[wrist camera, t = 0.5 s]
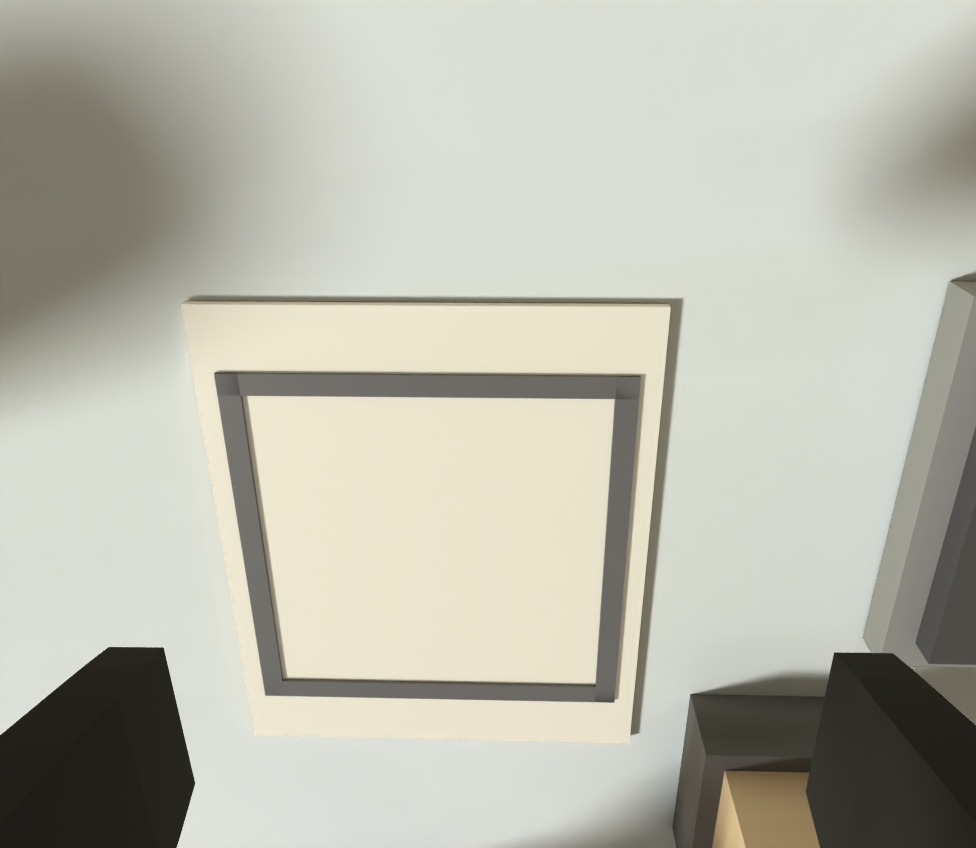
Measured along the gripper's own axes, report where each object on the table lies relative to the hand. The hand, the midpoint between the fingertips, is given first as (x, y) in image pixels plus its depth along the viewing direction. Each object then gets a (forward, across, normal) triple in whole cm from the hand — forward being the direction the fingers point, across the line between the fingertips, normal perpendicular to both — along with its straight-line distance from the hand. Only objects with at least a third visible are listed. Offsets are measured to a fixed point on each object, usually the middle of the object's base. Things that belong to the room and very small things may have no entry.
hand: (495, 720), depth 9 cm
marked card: (+10, +2, +4) cm, 11 cm away
